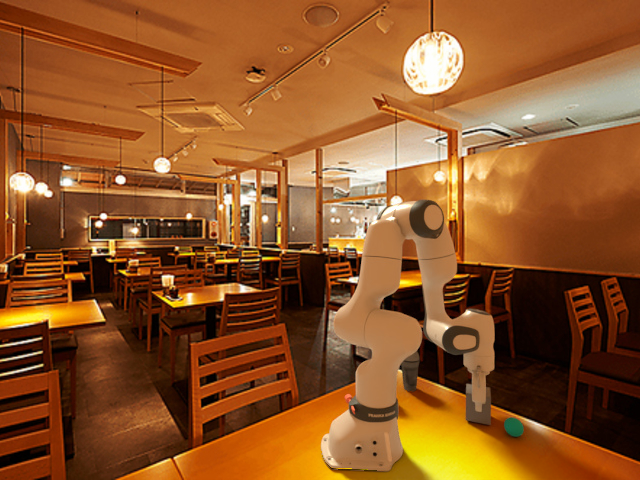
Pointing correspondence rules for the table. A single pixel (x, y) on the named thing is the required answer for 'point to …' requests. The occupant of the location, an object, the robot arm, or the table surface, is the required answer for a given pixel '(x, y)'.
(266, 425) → the table surface
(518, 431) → the ball
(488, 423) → the matte grey cube
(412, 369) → the beverage cup
